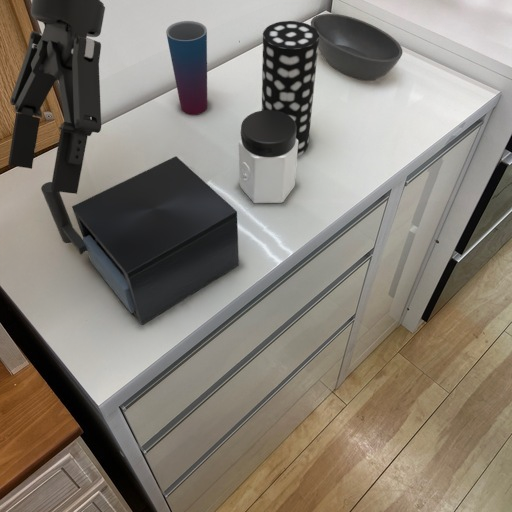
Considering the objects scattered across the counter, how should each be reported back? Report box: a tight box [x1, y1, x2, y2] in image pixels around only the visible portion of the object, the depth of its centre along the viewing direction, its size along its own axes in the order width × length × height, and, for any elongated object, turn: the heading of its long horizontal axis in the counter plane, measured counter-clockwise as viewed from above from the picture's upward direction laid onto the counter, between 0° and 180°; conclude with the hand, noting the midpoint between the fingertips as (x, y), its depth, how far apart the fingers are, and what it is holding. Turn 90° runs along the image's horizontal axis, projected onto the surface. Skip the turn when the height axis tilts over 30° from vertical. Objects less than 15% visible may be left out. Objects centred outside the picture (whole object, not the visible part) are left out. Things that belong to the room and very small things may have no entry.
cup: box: [165, 20, 208, 116], centre depth 95 cm, size 7×7×15 cm
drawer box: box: [71, 155, 240, 326], centre depth 72 cm, size 16×14×11 cm
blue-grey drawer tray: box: [40, 181, 135, 314], centre depth 72 cm, size 16×18×10 cm
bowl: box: [310, 13, 404, 82], centre depth 108 cm, size 12×22×6 cm, turn 39°
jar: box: [238, 110, 298, 204], centre depth 82 cm, size 9×8×12 cm
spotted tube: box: [261, 20, 319, 157], centre depth 86 cm, size 8×8×20 cm
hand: (40, 178), depth 63 cm, fingers open, 13 cm apart
